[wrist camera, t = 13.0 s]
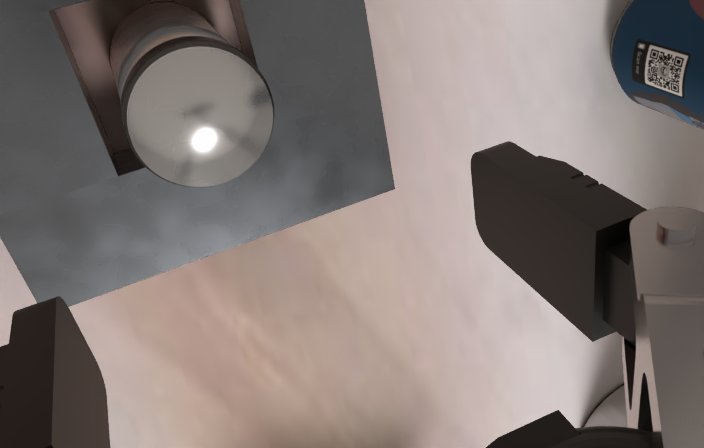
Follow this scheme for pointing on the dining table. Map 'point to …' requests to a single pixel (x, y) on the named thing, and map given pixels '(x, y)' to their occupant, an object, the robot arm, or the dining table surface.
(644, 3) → the soda can
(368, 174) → the graphite socket block
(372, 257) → the dining table surface
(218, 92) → the steel fitting
